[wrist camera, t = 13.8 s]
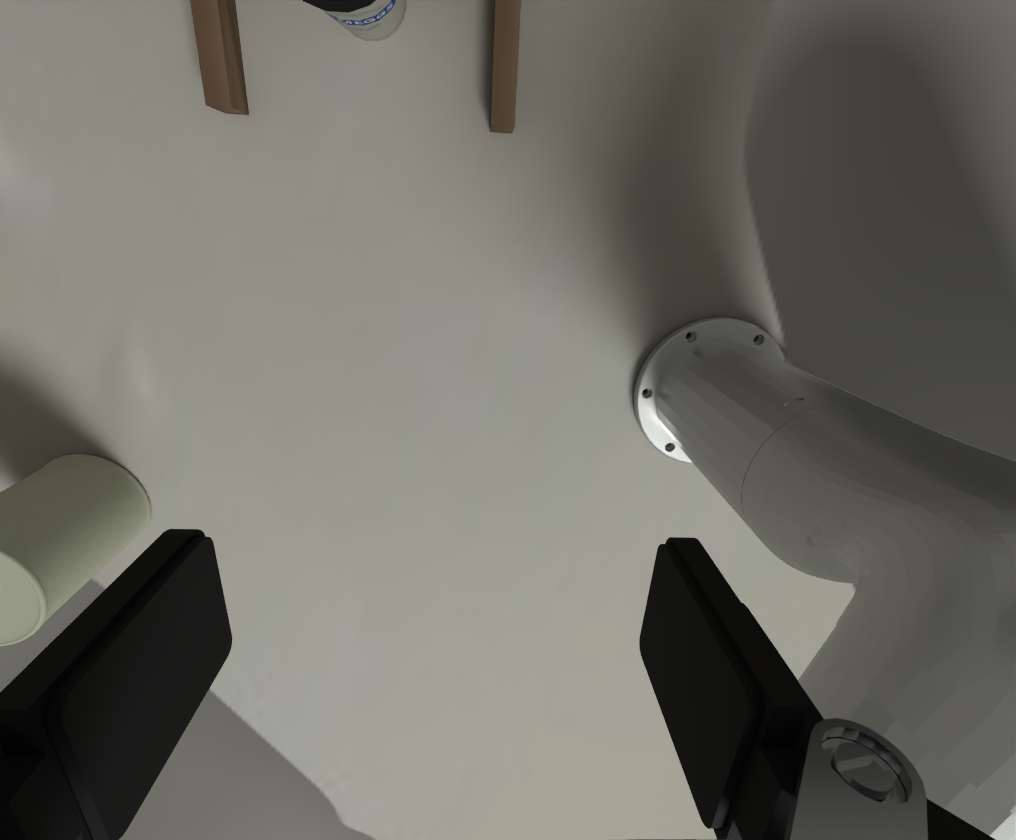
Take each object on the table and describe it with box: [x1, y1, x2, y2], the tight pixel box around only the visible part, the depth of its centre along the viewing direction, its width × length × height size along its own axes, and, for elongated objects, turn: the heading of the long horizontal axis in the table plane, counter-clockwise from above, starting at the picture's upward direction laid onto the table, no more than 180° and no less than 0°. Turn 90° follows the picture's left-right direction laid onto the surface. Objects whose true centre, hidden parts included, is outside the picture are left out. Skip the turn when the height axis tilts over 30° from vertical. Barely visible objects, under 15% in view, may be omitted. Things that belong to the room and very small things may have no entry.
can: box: [0, 454, 151, 646], centre depth 37 cm, size 9×9×12 cm
